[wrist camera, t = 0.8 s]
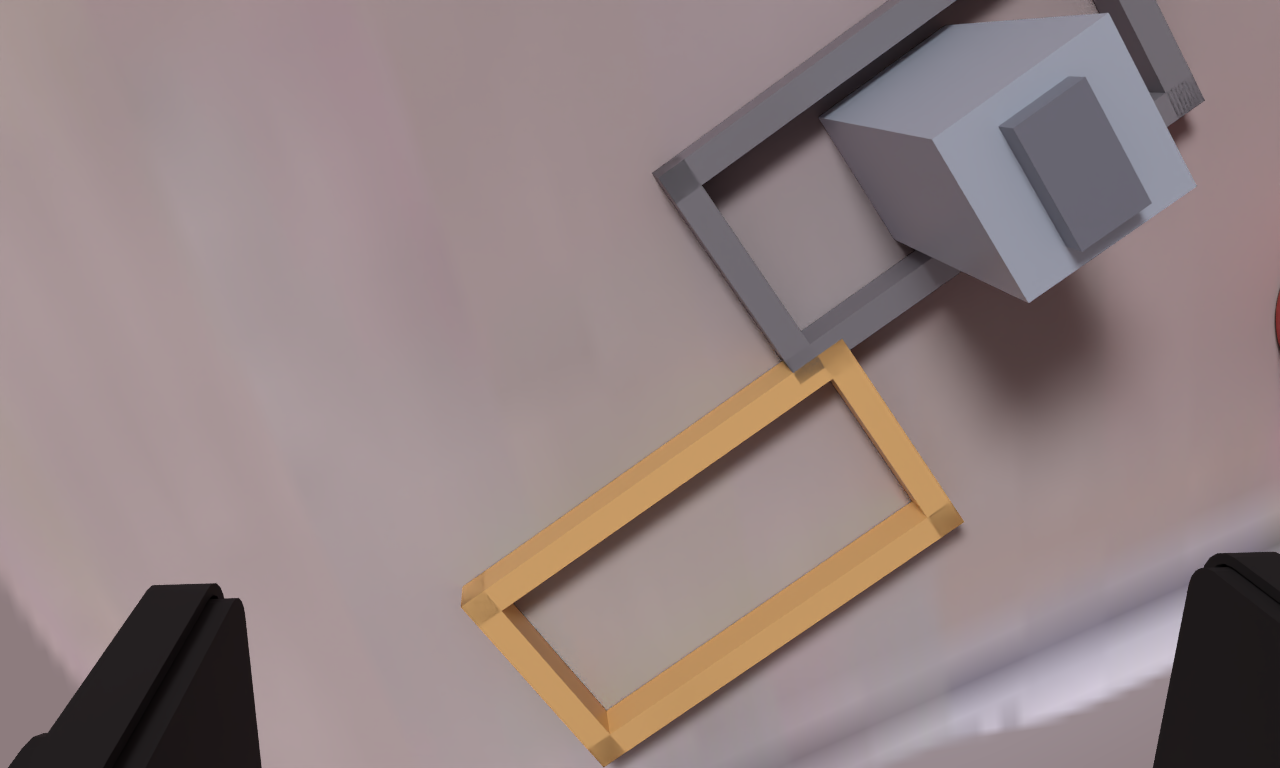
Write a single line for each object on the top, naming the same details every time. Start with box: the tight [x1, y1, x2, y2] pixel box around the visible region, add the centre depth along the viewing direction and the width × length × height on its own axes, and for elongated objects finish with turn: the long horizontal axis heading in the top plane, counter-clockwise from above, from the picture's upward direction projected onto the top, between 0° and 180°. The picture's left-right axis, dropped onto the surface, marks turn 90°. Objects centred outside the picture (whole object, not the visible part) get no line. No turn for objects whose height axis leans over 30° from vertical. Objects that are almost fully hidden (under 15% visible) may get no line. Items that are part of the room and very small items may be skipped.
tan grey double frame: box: [461, 0, 1205, 767], centre depth 37 cm, size 30×16×2 cm, turn 125°
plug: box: [818, 13, 1196, 303], centre depth 30 cm, size 5×5×11 cm
